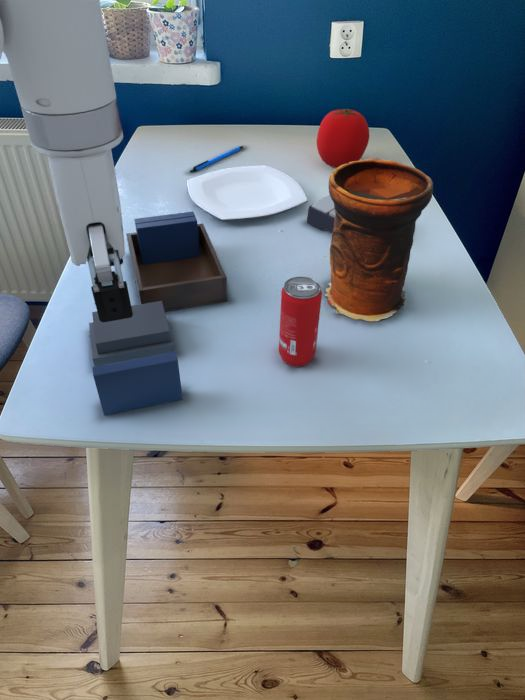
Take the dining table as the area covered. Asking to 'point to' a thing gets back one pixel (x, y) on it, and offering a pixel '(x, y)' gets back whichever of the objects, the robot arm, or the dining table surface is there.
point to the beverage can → (299, 320)
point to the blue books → (167, 237)
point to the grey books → (131, 335)
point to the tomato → (342, 137)
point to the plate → (245, 192)
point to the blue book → (138, 383)
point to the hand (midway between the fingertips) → (112, 290)
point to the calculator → (322, 214)
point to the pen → (215, 159)
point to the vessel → (373, 235)
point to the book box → (180, 277)
